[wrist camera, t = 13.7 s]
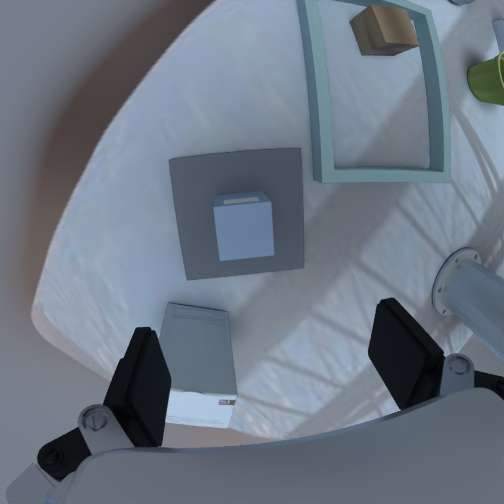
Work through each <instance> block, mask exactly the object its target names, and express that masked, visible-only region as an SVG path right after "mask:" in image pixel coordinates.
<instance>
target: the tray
mask: <svg viewBox="0 0 504 504" xmlns="http://www.w3.org/2000/svg"><path fill="white" fill-rule="evenodd" d="M336 1H342V2H347V3H352V4H357V5H362V6H366V7H368V6H369V5H371V4H372V5H381V6H388V7H395V8H401V9H406V11H407V13H408V16H409V18H410V19H411V20H414V24H415V28H416V32H417V37H418V42H419V45H420V52H421V57H422V63H423V69H424V76H425V84H426V92H427V102H428V114H429V132H430V169H417V168H393V167H334V146H333V127H332V113H331V100H330V89H329V79H328V70H327V62H326V54H325V47H324V40H323V33H322V27H321V21H320V15H319V9H318V4H317V0H297V6H298V12H299V19H300V25H301V32H302V40H303V48H304V56H305V65H306V74H307V84H308V95H309V107H310V120H311V135H312V152H313V176H314V180H315V181H318V182H320V183H346V182H431V183H450V173H451V135H450V116H449V104H448V94H447V86H446V78H445V72H444V66H443V60H442V55H441V50H440V45H439V40H438V36H437V32H436V28H435V24H434V20H433V17H432V13H431V10H429V9H427V8H424V7H422V6H419V5H417V4H414V3H412V2H409V1H406V0H336Z"/></svg>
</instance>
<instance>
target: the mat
mask: <svg viewBox="0 0 504 504" xmlns="http://www.w3.org/2000/svg"><path fill="white" fill-rule="evenodd" d="M169 166H170V175H171V183H172V191H173V198H174V206H175V213H176V219H177V226H178V232H179V238H180V244H181V250H182V256H183V262H184V267H185V273H186V278H187V280H197V279H207V278H217V277H227V276H237V275H246V274H256V273H265V272H274V271H283V270H292V269H300V268H304V214H303V183H302V161H301V148H285V149H266V150H251V151H238V152H227V153H218V154H208V155H200V156H192V157H185V158H178V159H171V160H169ZM257 191H263V192H264V194H265V195H266V196H267V197H268V198H269V200H270V201H271V205H272V222H273V240H274V255H272V256H263V257H254V258H244V259H235V260H225V261H220V258H219V250H218V242H217V234H216V226H215V218H214V209H213V206H214V201H215V196H217V195H226V194H236V193H246V192H257Z"/></svg>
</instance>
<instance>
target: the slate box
mask: <svg viewBox="0 0 504 504" xmlns="http://www.w3.org/2000/svg"><path fill="white" fill-rule="evenodd" d="M213 209H214V218H215V226H216V234H217V242H218V250H219V258H220V261H225V260H235V259H244V258H254V257H263V256H272V255H274V240H273V222H272V205H271V201H270V200H269V198H268V197H267V196H266V195H265V194H264V192H263V191H257V192H246V193H236V194H226V195H217V196H215V201H214V206H213Z"/></svg>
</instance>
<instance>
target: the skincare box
mask: <svg viewBox="0 0 504 504" xmlns="http://www.w3.org/2000/svg"><path fill="white" fill-rule="evenodd" d="M159 343H160V346H161V349H162V352H163V355H164V358H165V361H166V364H167V367H168V369H169V372H170V375H171V380H172V383H171V389H170V395H169V401H168V407H167V414H166V420H165V422H169V423H177V424H185V425H186V424H187V425H194V426H205V427H217V428H228V425H229V422H230V418H231V415H232V411H233V408H234V405H235V402H236V399H237V396H238V393H237V386H236V378H235V370H234V362H233V353H232V345H231V336H230V327H229V318H228V312H224V311H217V310H210V309H203V308H197V307H190V306H184V305H177V304H172V303H168V305H167V308H166V312H165V316H164V320H163V324H162V328H161V332H160V336H159Z"/></svg>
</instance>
